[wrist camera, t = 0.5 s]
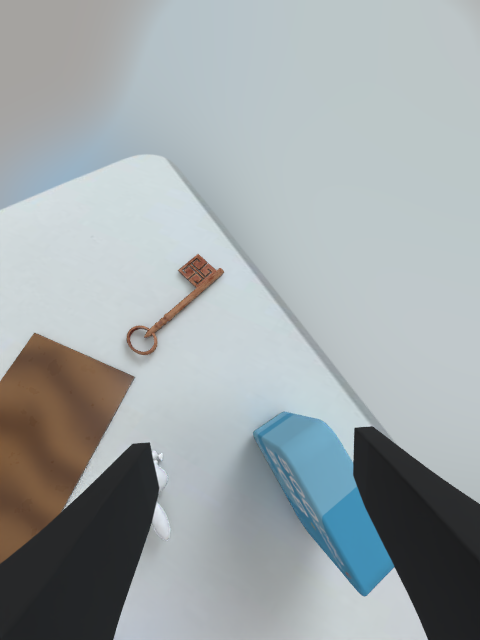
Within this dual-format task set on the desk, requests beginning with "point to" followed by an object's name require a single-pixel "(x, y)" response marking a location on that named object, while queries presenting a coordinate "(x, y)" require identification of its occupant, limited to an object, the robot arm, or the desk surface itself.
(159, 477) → the rabbit figurine
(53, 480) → the brown wooden board
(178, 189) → the desk surface
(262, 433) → the data package
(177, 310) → the key
